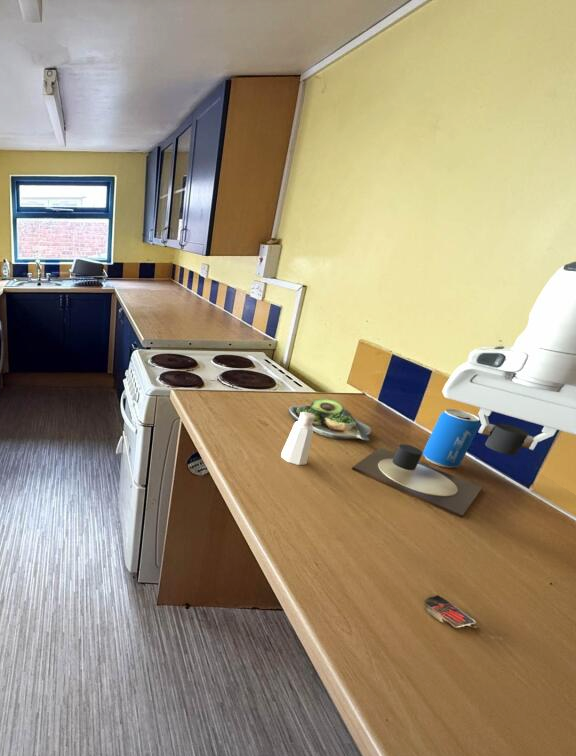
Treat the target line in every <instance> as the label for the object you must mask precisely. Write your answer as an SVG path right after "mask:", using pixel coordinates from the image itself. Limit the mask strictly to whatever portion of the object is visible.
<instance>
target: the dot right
mask: <svg viewBox="0 0 576 756" xmlns="http://www.w3.org/2000/svg"><path fill="white" fill-rule="evenodd" d="M494 425H495V426H494V428H493V430H492V432H491V434H490V436H488V437H487V439H486V441H485V444H484V446H486V448H488V449H490V450H492V451H494V452H497V453H500V454H502V455H503V454H504V455H508V456H516V455H518V454H519V452H520V450H521V448H522V446H521V445H522V443H523V442H524V440H525V438H526V437H527V436H528V435H529V432H528V431H526V430H524V429H523V428H520V427H517V426H515V425H514V426H513V425H511V424H506V423H495V424H494Z"/></svg>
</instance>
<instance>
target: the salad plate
mask: <svg viewBox="0 0 576 756" xmlns="http://www.w3.org/2000/svg"><path fill="white" fill-rule="evenodd" d="M301 412H308V413H311V414H313V415H314V416H315V419H314V421H313V423H312V425H313V433H316V434H318V435H320V436H323V437H327V438H330V439H333V440H341V441H342V440H343V441H345V440H357V439H359V440H363V441H367V442H369V441H370V437H369V435H371V433H372V430H371V427H370V426H369V425H367V424H365V423H363V422H361V421H359V420H358V419H356V418H355V417H353V415H352V413H350V411H349V410H347V409H345V408H344V406H343V405H342V403H340V402H339V401H337V400H334V399H330V398H319V399H315V400H313V401H312V402H311V404H310V405H291V406H290V407H289V408H288V414H289V415H290V417H291V418H292V419H293V420H294V421H295V422H297V421H299V417H300V413H301Z"/></svg>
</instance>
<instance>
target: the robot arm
mask: <svg viewBox="0 0 576 756" xmlns="http://www.w3.org/2000/svg"><path fill="white" fill-rule="evenodd" d="M441 392H442V395H443V397H444V398H445V399H448V400H452V401H454V402H459V403H463V404H466V405H469V406H473V407H476V408H479V411H478V413H477V414H478V418H479V419H480V420H479V421H480V427H479V428H478V430H477V432H478V434H481V435H484V436H488V437H489V436H490V434H491V432H492V430H493V428H494V426H495V424H494V423H493V424H492V423H490V421H489V416H490V415H492V413H496V414H500V415H505V416H508V417H512V418H514V419H519V420H523V421H525V422H528V423H533V424H536V425H540V426H543V427H542V429H541V433H539V434H537V435H535V436H532V435H529V434H528V436H527V437H526V438H525V440H524V442H523V443H522V445H521V448H525V449H529V450H531V451H534V450H535V448H536V446H537V445H538V444H539V443H540V442H542V441H544V440H547V439H549V438H551V437H554V435H555V434H556V433H557V431H561V432H564V433H568V434H571V435H575V436H576V261H572V262H570V263H566V264H564V265H562V266H560V268H559V269H557V271H555V273H554V274H553V275H552V276H551V277H550V279H549V280H548V281H547V282H546V285H545V286H543V288H542V291H541V292H540V294H539V296H538V297H537V299H536V300H535V303H534V304H533V307H532V308H531V310H530V312H529V316H528V323H527V325H526V327H525V329H524V331H523V332H521V334H520V335H518V337H517V338H516V339H515V342H514V344H513V345H509V346H508V345H504V346H501V345H500V346H481V347H477V348H475V349H473V350H472V351H470V353H469V354H468V357H467V361H466V362H464V363H461V365H459V366H458V367H457V368H456V369H454V371H453V372H452V374H451V375H450V376H449V378H448V379H447V381H446V382H445V384H444V385H443V388H442V391H441Z"/></svg>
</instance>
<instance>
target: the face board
mask: <svg viewBox="0 0 576 756" xmlns="http://www.w3.org/2000/svg"><path fill="white" fill-rule="evenodd" d="M395 454H396V452H395V451H394V452H393V451H391V450H389V449H386V448H383V447H378V448H377V449H375V450H373V452H371V453H370V454H368V455H367V456H366V457H364V458H362V460H360V461H359V462H358V463H356V464H355V465H353V466H352V467H351V470H353V471H354V472H357V473H359V474H361V475H364V476H366V477H368V478H370V479H373V480H375V481H377V482H379V483H382V484H384V485H386V486H389V487H391V488H393V489H395V490H397V491H400V492H402V493H404V494H407V495H409V496H411V497H413V498H415V499H418V500H419V501H420V500H421V501H422V502H425V503H426V504H429V505H432V506H433V507H436V508H438V509H441V510H443V511H445V512H447V513H450V514H452V515H453V516H456V517H458V518H463V517H464V515H465V514H466V512H467V511H468V510H469V508H470V507H471V505H472V504H473V502H474V501H475V499H476V498H477V496H478V495H479V494H480V492H481V491H482V490H483V486H481V485H479V484H476V483H474V482H470V481H468V480H465V479H463V478H460V477H457V476H455V475H452V474H450V473H448V472H446V471H442V470H440V469H437V468H434V467H432V466H430V465H427V464H425V463H421V462H420V461H419V462H418V464H417V466H416V468H415V469H414V470H407V469H403V468H401V467H398V466H397V465H395V464H394V463H393V462H392V461H393V458H394V456H395Z"/></svg>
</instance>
